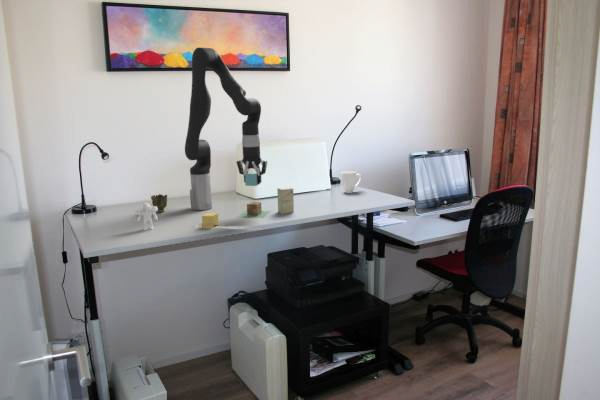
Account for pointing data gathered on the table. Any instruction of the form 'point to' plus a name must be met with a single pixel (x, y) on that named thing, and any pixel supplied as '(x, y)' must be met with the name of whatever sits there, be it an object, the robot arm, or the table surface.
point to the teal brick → (251, 179)
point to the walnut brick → (254, 208)
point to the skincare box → (285, 200)
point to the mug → (349, 180)
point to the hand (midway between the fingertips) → (252, 183)
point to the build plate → (254, 215)
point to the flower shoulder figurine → (147, 214)
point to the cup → (159, 202)
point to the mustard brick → (210, 220)
